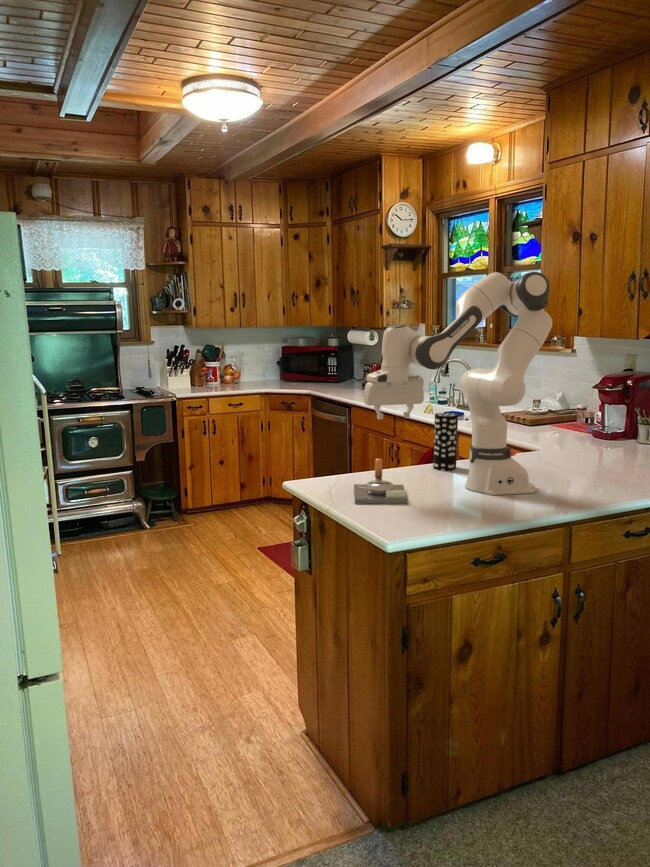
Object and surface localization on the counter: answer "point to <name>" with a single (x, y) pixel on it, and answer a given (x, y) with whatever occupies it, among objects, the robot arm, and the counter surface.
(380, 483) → the copper silver knob
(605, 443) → the counter surface
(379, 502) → the plate
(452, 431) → the spotted tube
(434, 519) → the counter surface
